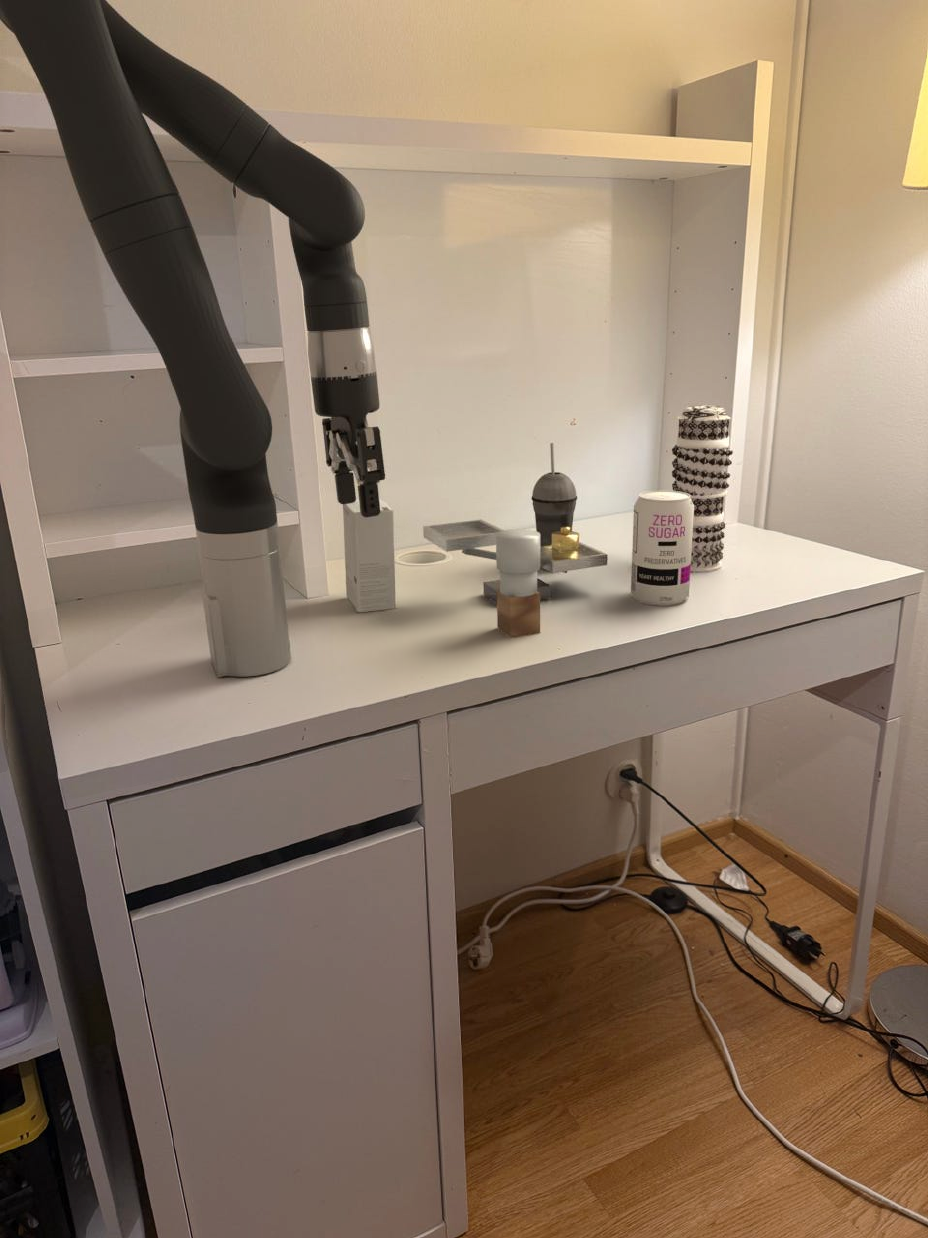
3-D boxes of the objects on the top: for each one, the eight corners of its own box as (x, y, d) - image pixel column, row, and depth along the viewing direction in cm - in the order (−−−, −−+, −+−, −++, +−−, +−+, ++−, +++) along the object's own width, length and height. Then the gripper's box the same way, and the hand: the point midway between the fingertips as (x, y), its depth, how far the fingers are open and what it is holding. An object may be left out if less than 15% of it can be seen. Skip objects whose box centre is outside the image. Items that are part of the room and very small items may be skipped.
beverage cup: (540, 576, 139) (540, 448, 132) (525, 564, 145) (524, 442, 139) (583, 571, 140) (585, 445, 134) (566, 560, 147) (567, 439, 140)
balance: (449, 618, 121) (446, 539, 117) (426, 600, 128) (423, 526, 125) (606, 593, 129) (608, 519, 126) (576, 577, 137) (577, 507, 134)
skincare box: (346, 597, 131) (338, 499, 126) (385, 592, 133) (379, 495, 128) (358, 614, 123) (350, 510, 118) (399, 609, 125) (394, 506, 120)
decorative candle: (669, 572, 139) (677, 410, 130) (663, 557, 147) (671, 404, 139) (728, 573, 137) (740, 409, 129) (719, 557, 146) (730, 403, 138)
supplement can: (664, 586, 132) (669, 487, 127) (700, 601, 125) (707, 496, 120) (619, 595, 128) (622, 493, 124) (654, 610, 121) (659, 503, 116)
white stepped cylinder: (508, 600, 110) (507, 542, 108) (489, 588, 115) (488, 532, 113) (547, 593, 112) (548, 536, 110) (528, 582, 117) (528, 527, 115)
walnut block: (511, 638, 113) (510, 597, 111) (497, 628, 117) (496, 588, 115) (540, 633, 114) (540, 593, 113) (525, 623, 118) (525, 584, 116)
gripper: (294, 371, 105) (311, 504, 111) (331, 377, 93) (348, 526, 99) (353, 365, 108) (367, 495, 114) (396, 370, 96) (409, 515, 102)
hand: (358, 509), depth 106 cm, fingers open, 8 cm apart
